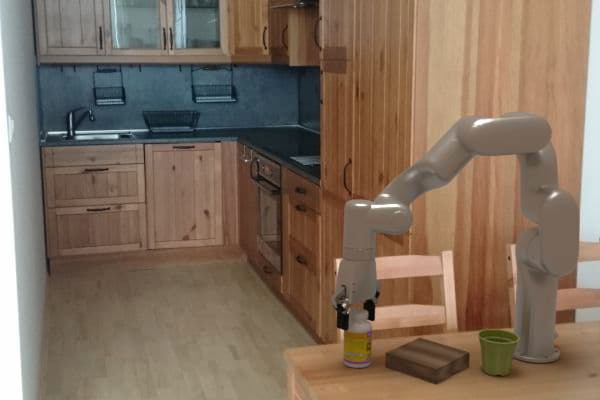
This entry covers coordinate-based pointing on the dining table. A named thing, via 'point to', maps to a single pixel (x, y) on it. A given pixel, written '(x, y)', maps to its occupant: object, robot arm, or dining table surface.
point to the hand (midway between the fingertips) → (355, 324)
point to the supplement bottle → (358, 340)
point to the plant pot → (497, 350)
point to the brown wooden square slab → (427, 360)
